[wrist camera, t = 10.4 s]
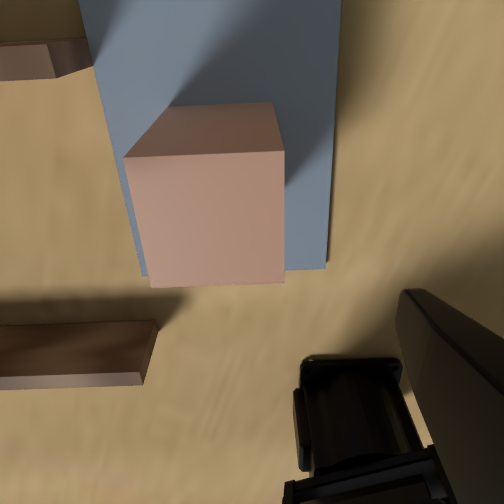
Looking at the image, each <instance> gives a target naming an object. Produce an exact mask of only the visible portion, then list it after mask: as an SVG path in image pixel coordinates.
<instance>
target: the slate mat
mask: <svg viewBox="0 0 504 504" xmlns="http://www.w3.org/2000/svg"><path fill="white" fill-rule="evenodd" d="M78 3H79V7H80V11H81V15H82V20H83V24H84V28H85V33H86V37H87V41H88V45H89V50H90V54H91V58H92V62H93V67H94V71H95V75H96V80H97V84H98V88H99V92H100V97H101V101H102V105H103V109H104V114H105V118H106V122H107V127H108V131H109V135H110V139H111V144H112V148H113V152H114V157H115V161H116V165H117V169H118V174H119V178H120V182H121V186H122V191H123V195H124V199H125V204H126V208H127V212H128V216H129V221H130V225H131V229H132V233H133V238H134V242H135V246H136V251H137V255H138V259H139V263H140V268H141V272H142V276H148V271H147V267H146V262H145V258H144V253H143V248H142V244H141V239H140V235H139V230H138V225H137V221H136V216H135V212H134V207H133V202H132V198H131V193H130V189H129V184H128V179H127V175H126V170H125V166H124V161H123V157H124V156H125V155H126V154H127V152H128V151H129V150H130V149H131V148H132V147H133V146H134V144H135V143H136V142H137V141H138V140H139V139H140V138H141V136H142V135H143V134H144V133H145V132H146V131H147V130H148V129H149V127H150V126H151V125H152V124H153V123H154V122H155V121H156V119H157V118H158V117H159V116H160V115H161V114H162V113H163V111H164V110H165V109H166V108H167V107H169V106H191V105H214V104H236V103H258V102H272V103H273V107H274V111H275V115H276V119H277V123H278V127H279V131H280V135H281V139H282V143H283V147H284V151H285V155H284V271H285V270H309V269H326V253H327V236H328V219H329V203H330V186H331V169H332V153H333V136H334V119H335V103H336V86H337V69H338V53H339V36H340V19H341V3H342V0H78Z"/></svg>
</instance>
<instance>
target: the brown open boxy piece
mask: <svg viewBox="0 0 504 504" xmlns="http://www.w3.org/2000/svg"><path fill="white" fill-rule="evenodd" d="M91 66H93V62H92V58H91V54H90V50H89V45H88V41H87V38H71V39H53V40H35V41H16V42H0V81H14V80H33V79H52V78H58V77H61V76H64V75H67V74H70V73H73V72H76V71H79V70H82V69H85V68H88V67H91ZM157 335H158V330H157V326H156V321H155V320H149V321H123V322H98V323H72V324H46V325H21V326H0V390H21V389H49V388H77V387H105V386H134V385H143V383H144V380H145V376H146V373H147V369H148V366H149V362H150V359H151V355H152V352H153V349H154V345H155V342H156V338H157Z"/></svg>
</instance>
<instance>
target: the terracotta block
mask: <svg viewBox="0 0 504 504" xmlns="http://www.w3.org/2000/svg"><path fill="white" fill-rule="evenodd" d="M284 155H285V151H284V147H283V143H282V139H281V135H280V131H279V127H278V123H277V119H276V115H275V111H274V107H273V103H272V102H258V103H236V104H214V105H191V106H169V107H167V108H166V109H165V110H164V111H163V113H162V114H161V115H160V116H159V117H158V118H157V119H156V121H155V122H154V123H153V124H152V125H151V126H150V127H149V129H148V130H147V131H146V132H145V133H144V134H143V135H142V136H141V138H140V139H139V140H138V141H137V142H136V143H135V144H134V146H133V147H132V148H131V149H130V150H129V151H128V152H127V154H126V155H125V156H124V157H123V161H124V166H125V170H126V175H127V179H128V184H129V189H130V193H131V198H132V202H133V207H134V212H135V216H136V221H137V225H138V230H139V235H140V239H141V244H142V248H143V253H144V258H145V262H146V267H147V271H148V276H149V281H150V285H151V288H164V287H192V286H220V285H247V284H275V283H284Z"/></svg>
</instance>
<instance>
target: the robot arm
mask: <svg viewBox="0 0 504 504" xmlns="http://www.w3.org/2000/svg"><path fill="white" fill-rule="evenodd" d="M395 327H396V332H397V335H398V339H399V342H400V346H401V350H402V353H403V357H404V361H405V364H406V368H407V371H408V375H409V379H410V382H411V386H412V389H413V392H414V395H415V398H416V401H417V403H418V406H419V409H420V411H421V413H422V416H423V418H424V421H425V423H426V426H427V428H428V431H429V433H430V436H431V438H432V441H433V443H434V444H431V445H428V446H427V448H424V447H423V445H422V442H421V440H420V437H419V435H418V432H417V430H416V427H415V424H414V422H413V419H412V417H411V414H410V412H409V409H408V407H407V404H406V402H405V399H404V397H403V394H402V392H401V389H400V387H399V382H400V377H401V373H402V364H401V362H400V360H399V359H397V358H382V359H355V360H328V361H306V362H303V363H302V364H301V365H300V380H299V388H296V389H295V390H294V391H293V419H294V428H295V438H296V447H297V456H298V466H299V469H300V470H301V471H302V472H309V477H310V478H306V479H302V480H298V481H295V480H291V481H287V482H285V485H284V497H283V499H282V504H504V339H503V338H502V337H500V336H499V335H497V334H495V333H494V332H492V331H491V330H489V329H487V328H486V327H484V326H483V325H481V324H479V323H478V322H476V321H474V320H473V319H471V318H470V317H468V316H466V315H465V314H463V313H462V312H460V311H458V310H457V309H455V308H454V307H452V306H450V305H449V304H447V303H446V302H444V301H442V300H441V299H439V298H438V297H436V296H434V295H433V294H431V293H430V292H428V291H426V290H424V289H422V288H412V289H404V290H402V291H401V293H400V297H399V302H398V307H397V313H396V318H395Z"/></svg>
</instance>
